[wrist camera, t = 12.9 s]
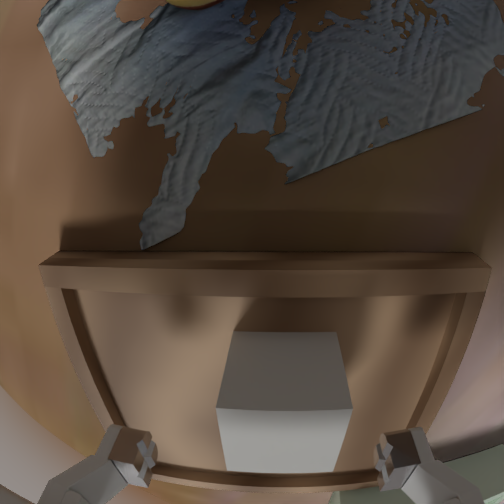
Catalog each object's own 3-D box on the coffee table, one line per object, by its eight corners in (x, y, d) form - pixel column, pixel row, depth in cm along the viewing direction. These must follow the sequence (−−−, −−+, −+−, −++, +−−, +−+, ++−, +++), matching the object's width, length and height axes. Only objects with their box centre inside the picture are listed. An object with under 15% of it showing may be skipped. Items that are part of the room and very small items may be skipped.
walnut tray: (472, 252, 11) (492, 267, 9) (390, 465, 17) (394, 483, 15) (58, 250, 13) (38, 265, 11) (137, 457, 18) (131, 474, 17)
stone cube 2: (336, 331, 12) (352, 408, 8) (325, 400, 13) (332, 471, 10) (233, 331, 12) (215, 407, 8) (238, 399, 14) (227, 470, 10)
